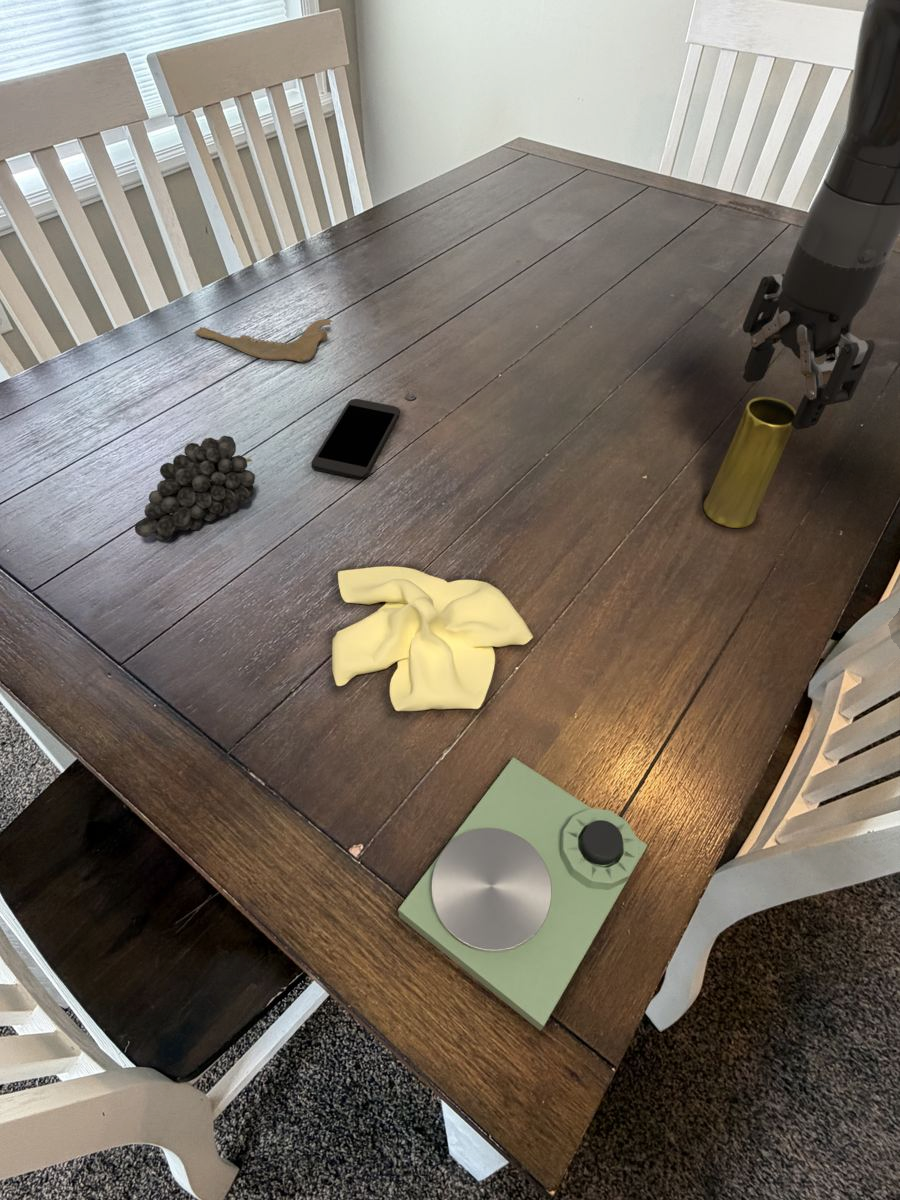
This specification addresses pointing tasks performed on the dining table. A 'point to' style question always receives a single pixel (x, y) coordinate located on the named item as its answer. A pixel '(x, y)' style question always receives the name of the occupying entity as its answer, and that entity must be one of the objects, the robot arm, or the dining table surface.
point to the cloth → (425, 636)
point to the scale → (577, 891)
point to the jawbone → (275, 343)
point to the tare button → (601, 842)
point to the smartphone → (356, 439)
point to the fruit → (197, 488)
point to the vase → (750, 462)
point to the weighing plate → (491, 890)
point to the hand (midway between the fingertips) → (775, 402)
